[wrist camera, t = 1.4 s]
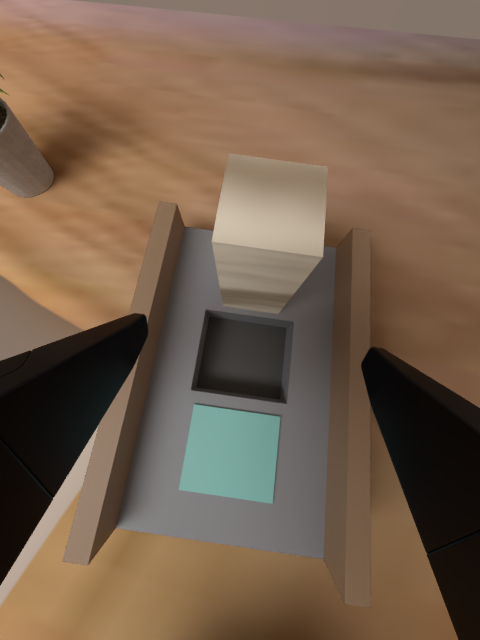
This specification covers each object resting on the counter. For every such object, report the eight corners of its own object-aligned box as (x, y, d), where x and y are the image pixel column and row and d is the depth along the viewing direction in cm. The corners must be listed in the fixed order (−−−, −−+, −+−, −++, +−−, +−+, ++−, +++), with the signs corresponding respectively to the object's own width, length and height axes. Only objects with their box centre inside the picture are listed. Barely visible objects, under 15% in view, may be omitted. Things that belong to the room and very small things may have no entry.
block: (278, 314, 19) (322, 257, 9) (223, 306, 19) (211, 241, 10) (283, 263, 20) (328, 167, 11) (231, 256, 20) (228, 153, 11)
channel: (326, 531, 18) (370, 608, 12) (117, 500, 18) (62, 561, 12) (336, 264, 24) (370, 230, 18) (177, 242, 24) (159, 201, 18)
